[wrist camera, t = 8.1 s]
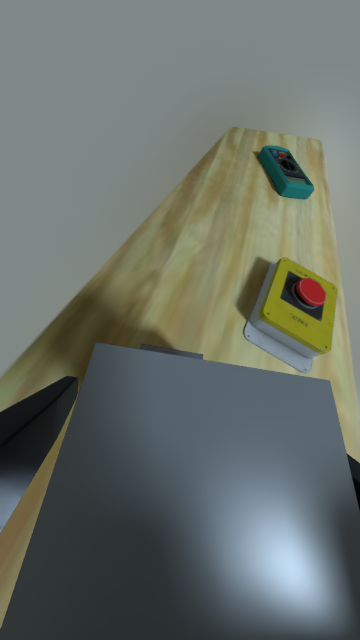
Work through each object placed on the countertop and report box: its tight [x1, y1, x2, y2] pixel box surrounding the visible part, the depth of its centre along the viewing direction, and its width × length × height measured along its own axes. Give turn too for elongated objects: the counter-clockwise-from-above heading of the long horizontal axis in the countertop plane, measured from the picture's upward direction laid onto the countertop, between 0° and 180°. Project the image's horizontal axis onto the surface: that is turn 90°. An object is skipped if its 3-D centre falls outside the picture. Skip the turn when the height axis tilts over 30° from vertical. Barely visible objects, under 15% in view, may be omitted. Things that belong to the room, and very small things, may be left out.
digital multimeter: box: [258, 146, 314, 199], centre depth 39 cm, size 7×15×3 cm, turn 10°
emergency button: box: [244, 257, 337, 373], centre depth 23 cm, size 9×4×15 cm
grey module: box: [0, 342, 360, 640], centre depth 9 cm, size 5×6×12 cm
